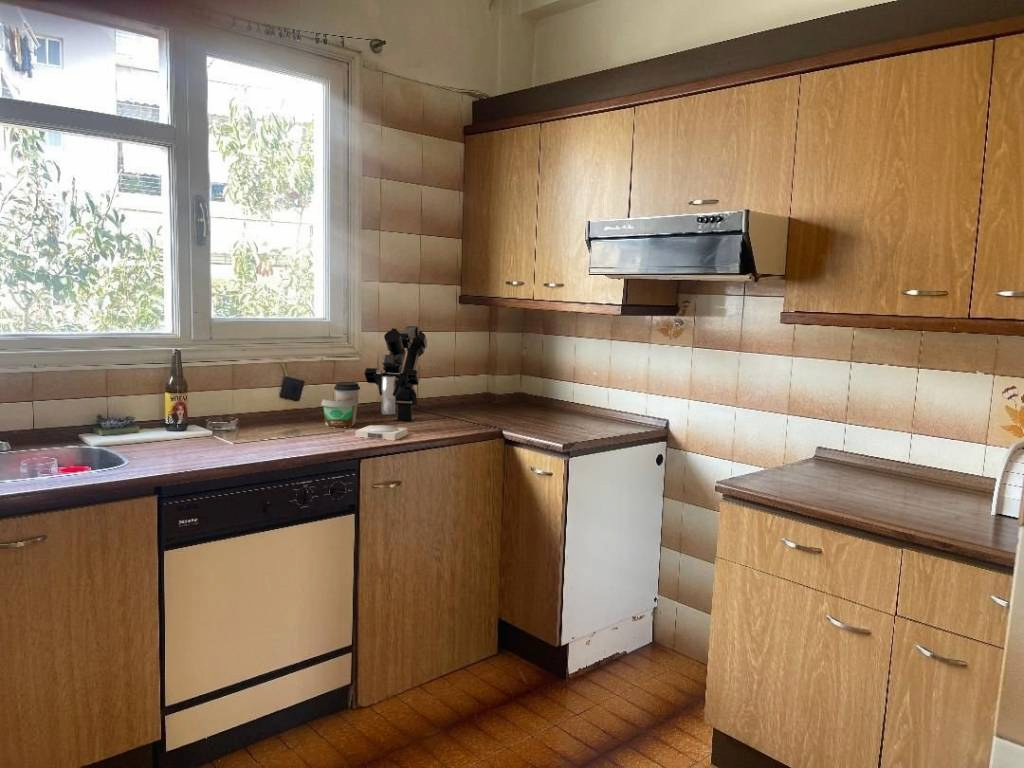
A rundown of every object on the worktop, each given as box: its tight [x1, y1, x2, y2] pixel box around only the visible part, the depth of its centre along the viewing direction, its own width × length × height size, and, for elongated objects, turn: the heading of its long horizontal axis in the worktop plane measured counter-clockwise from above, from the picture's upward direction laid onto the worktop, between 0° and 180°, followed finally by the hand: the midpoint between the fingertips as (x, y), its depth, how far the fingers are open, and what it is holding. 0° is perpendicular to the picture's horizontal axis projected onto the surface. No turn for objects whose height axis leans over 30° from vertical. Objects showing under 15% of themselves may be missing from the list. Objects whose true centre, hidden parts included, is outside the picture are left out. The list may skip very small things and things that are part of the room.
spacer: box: [380, 376, 396, 415], centre depth 261 cm, size 5×5×13 cm
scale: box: [355, 424, 408, 441], centre depth 253 cm, size 12×14×3 cm
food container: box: [320, 398, 356, 429], centre depth 266 cm, size 12×6×10 cm, turn 105°
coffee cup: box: [333, 381, 361, 425], centre depth 273 cm, size 9×9×15 cm
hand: (387, 395), depth 259 cm, fingers closed on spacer, 5 cm apart
